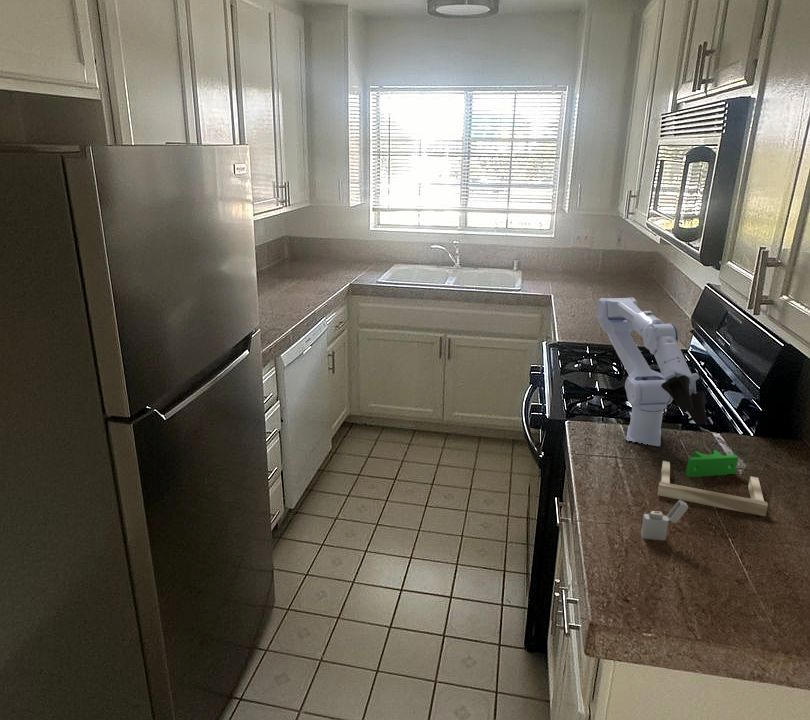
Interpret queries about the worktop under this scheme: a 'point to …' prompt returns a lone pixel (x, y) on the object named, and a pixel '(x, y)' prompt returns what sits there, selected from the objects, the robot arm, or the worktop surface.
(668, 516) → the lighter
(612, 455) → the worktop surface
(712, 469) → the pipe clamp
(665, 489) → the frame
